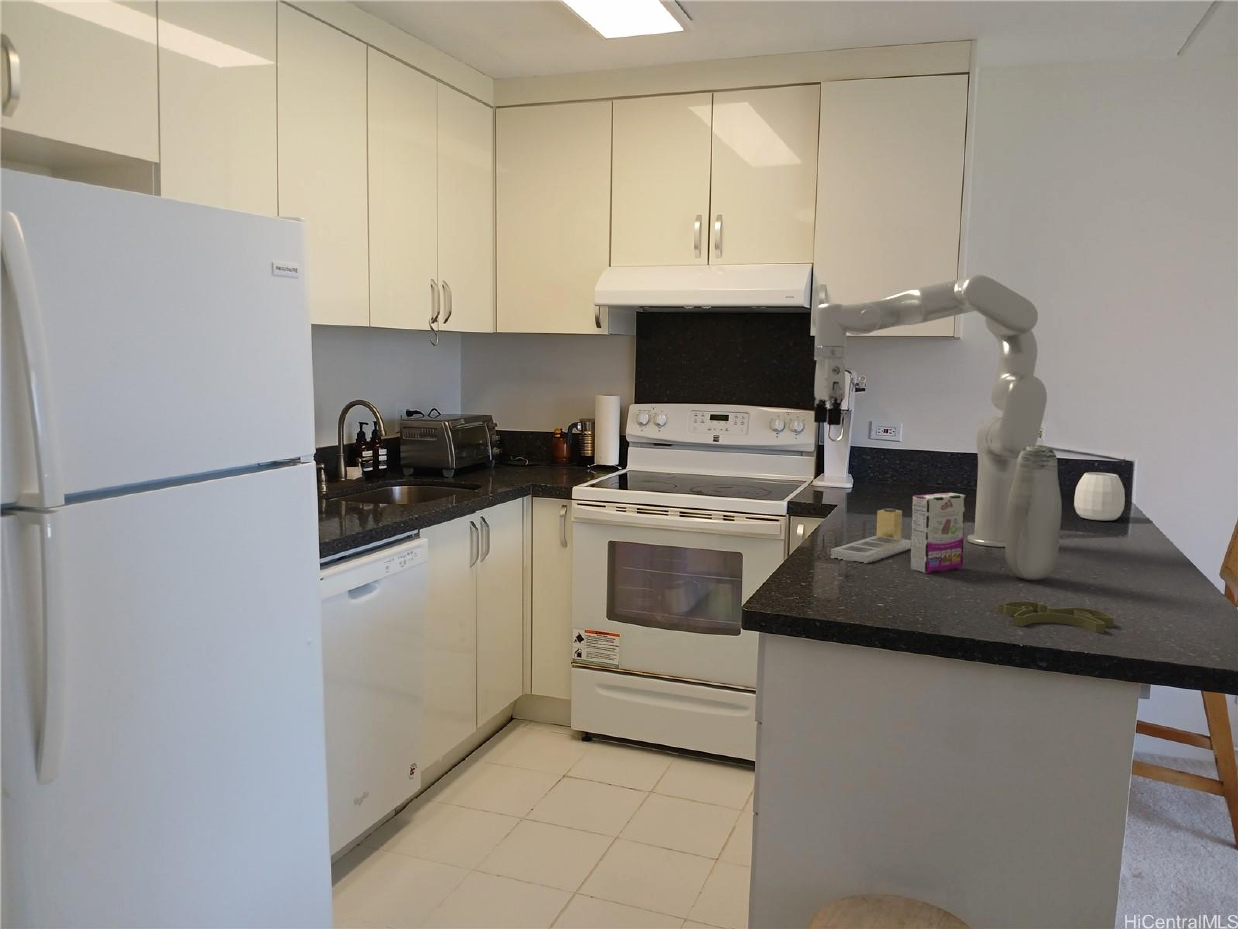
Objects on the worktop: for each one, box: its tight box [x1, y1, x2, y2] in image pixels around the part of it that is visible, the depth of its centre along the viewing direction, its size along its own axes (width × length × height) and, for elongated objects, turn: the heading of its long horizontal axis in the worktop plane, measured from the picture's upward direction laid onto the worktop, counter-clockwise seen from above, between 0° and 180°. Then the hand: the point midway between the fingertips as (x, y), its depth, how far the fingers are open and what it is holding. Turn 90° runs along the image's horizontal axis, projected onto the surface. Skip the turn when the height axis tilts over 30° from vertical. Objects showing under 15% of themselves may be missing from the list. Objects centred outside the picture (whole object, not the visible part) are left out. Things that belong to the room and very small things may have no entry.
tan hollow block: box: [875, 507, 903, 539], centre depth 229 cm, size 4×4×8 cm
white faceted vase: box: [1073, 472, 1126, 522], centre depth 270 cm, size 13×13×14 cm
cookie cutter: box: [996, 600, 1115, 634], centre depth 159 cm, size 18×12×2 cm, turn 73°
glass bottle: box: [1004, 444, 1063, 581], centre depth 189 cm, size 10×10×28 cm
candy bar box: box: [909, 492, 966, 575], centre depth 198 cm, size 11×5×16 cm, turn 117°
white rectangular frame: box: [830, 535, 911, 564], centre depth 215 cm, size 9×24×2 cm, turn 140°
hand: (827, 423), depth 227 cm, fingers open, 9 cm apart
